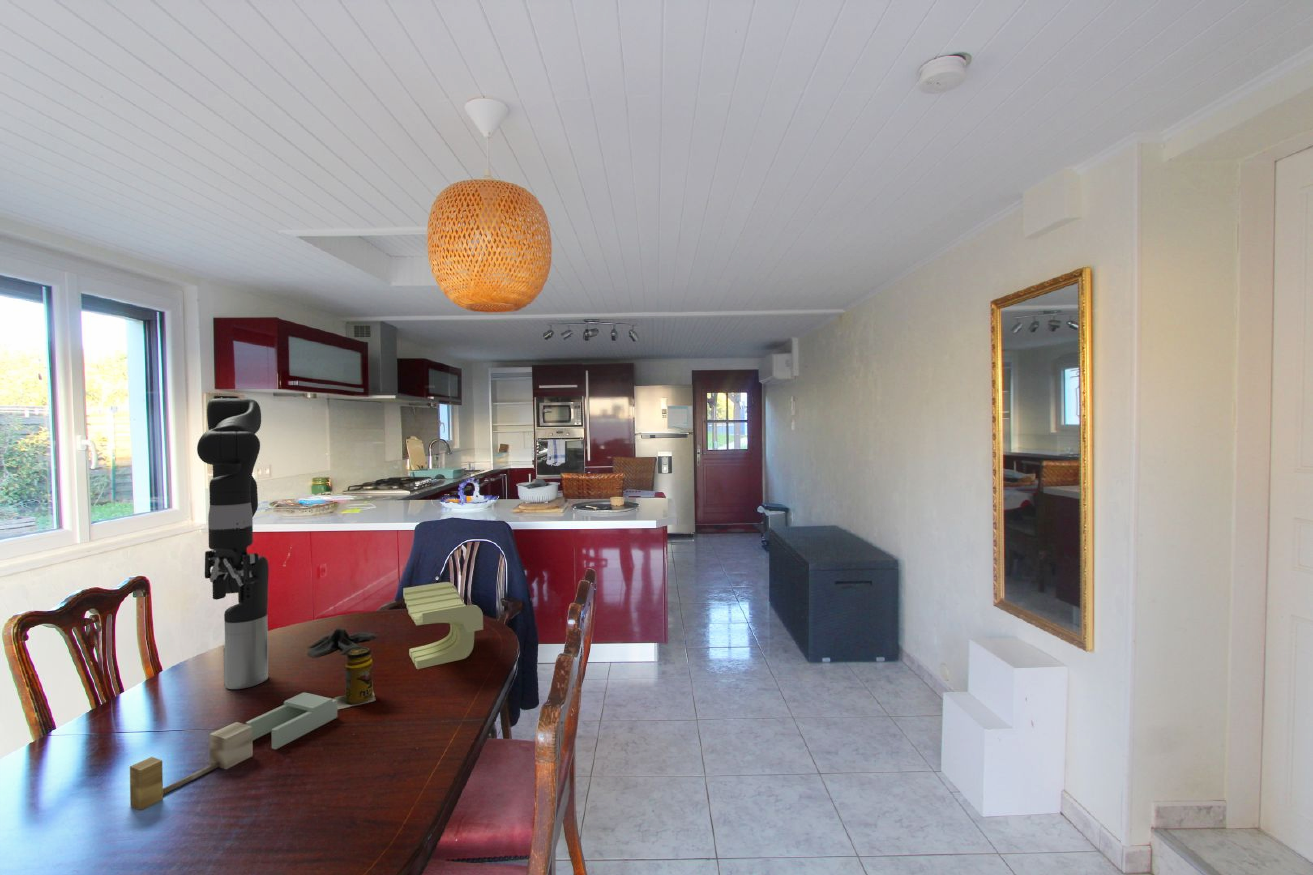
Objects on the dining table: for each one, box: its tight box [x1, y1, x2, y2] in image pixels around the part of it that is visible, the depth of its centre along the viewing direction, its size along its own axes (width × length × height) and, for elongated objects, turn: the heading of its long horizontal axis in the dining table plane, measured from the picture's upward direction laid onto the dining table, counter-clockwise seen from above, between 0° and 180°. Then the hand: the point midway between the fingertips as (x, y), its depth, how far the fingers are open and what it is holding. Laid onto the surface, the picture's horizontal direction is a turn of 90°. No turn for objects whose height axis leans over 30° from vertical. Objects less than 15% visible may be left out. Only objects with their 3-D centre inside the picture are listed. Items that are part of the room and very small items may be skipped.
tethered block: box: [129, 721, 254, 811], centre depth 106 cm, size 5×18×7 cm, turn 158°
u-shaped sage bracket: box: [245, 691, 338, 750], centre depth 124 cm, size 9×14×5 cm, turn 158°
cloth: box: [307, 627, 379, 659], centre depth 174 cm, size 22×19×6 cm
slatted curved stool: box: [403, 581, 484, 670], centre depth 165 cm, size 30×16×18 cm, turn 33°
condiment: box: [333, 646, 377, 711], centre depth 138 cm, size 7×8×12 cm
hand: (232, 600), depth 119 cm, fingers open, 8 cm apart
